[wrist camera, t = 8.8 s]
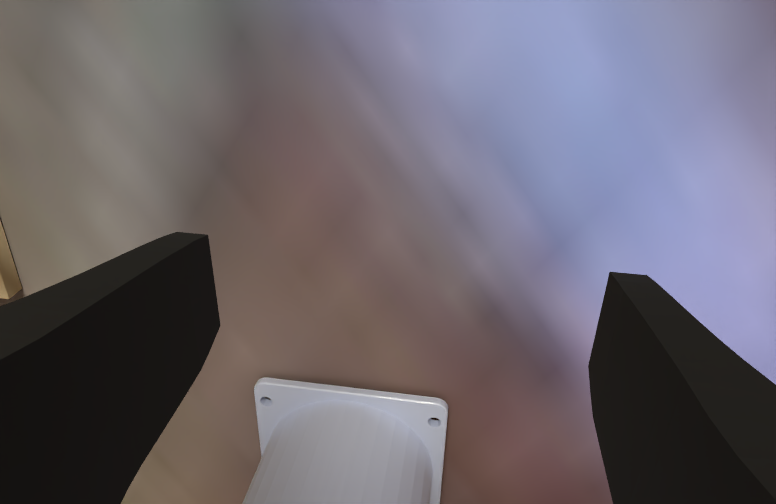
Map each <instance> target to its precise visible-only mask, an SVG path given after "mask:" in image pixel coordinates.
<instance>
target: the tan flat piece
mask: <svg viewBox="0 0 776 504" xmlns="http://www.w3.org/2000/svg"><path fill="white" fill-rule="evenodd" d="M21 289H22V287H21V283H20V280H19V277H18V274H17V271H16V268H15V264H14V261H13V258H12V255H11V252H10V249H9V246H8V242H7V239H6V236H5V233H4V230H3V227H2V224H1V220H0V298H3V299H10V298H11V297H12V296H14V295H15V294H16V293H17V292H18V291H20V290H21Z"/></svg>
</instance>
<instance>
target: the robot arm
mask: <svg viewBox="0 0 776 504" xmlns="http://www.w3.org/2000/svg"><path fill="white" fill-rule="evenodd" d="M219 327H220V319H219V312H218V305H217V297H216V290H215V283H214V275H213V268H212V261H211V254H210V246H209V239H208V235H204V234H193V233H182V232H175V233H172V234H169V235H166V236H163V237H161V238H158V239H156V240H154V241H151V242H149V243H147V244H144V245H142V246H140V247H138V248H135V249H133V250H131V251H129V252H127V253H124V254H122V255H120V256H118V257H116V258H114V259H111V260H109V261H107V262H105V263H103V264H100V265H98V266H96V267H94V268H92V269H90V270H87V271H85V272H83V273H81V274H79V275H76V276H74V277H72V278H69V279H67V280H64V281H62V282H60V283H57V284H55V285H53V286H50V287H48V288H45V289H43V290H41V291H38V292H36V293H34V294H31V295H29V296H26V297H24V298H22V299H19V300H16V301H14V302H11V303H8V304H6V305H3V306H0V504H121V502H122V500H123V498H124V496H125V494H126V491H127V490H128V488H129V486H130V484H131V482H132V481H133V479H134V477H135V475H136V474H137V472H138V470H139V468H140V467H141V465H142V463H143V462H144V460H145V459H146V457H147V455H148V454H149V452H150V451H151V449H152V448H153V446H154V444H155V443H156V441H157V440H158V438H159V437H160V435H161V433H162V432H163V430H164V429H165V427H166V425H167V424H168V422H169V421H170V419H171V418H172V416H173V414H174V413H175V411H176V410H177V408H178V406H179V405H180V403H181V402H182V400H183V398H184V397H185V395H186V394H187V392H188V390H189V389H190V387H191V385H192V384H193V382H194V381H195V379H196V377H197V376H198V374H199V372H200V371H201V369H202V367H203V364H204V362H205V360H206V358H207V356H208V354H209V351H210V349H211V347H212V344H213V342H214V339H215V337H216V335H217V332H218V330H219ZM588 367H589V379H590V392H591V402H592V412H593V419H594V423H595V428H596V432H597V436H598V441H599V445H600V450H601V454H602V458H603V462H604V467H605V471H606V475H607V479H608V483H609V488H610V492H611V496H612V500H613V504H776V385H775V384H774V383H773V382H771V381H770V380H769V379H768V378H766V377H765V376H764V375H762V374H761V373H760V372H759V371H757V370H756V369H755V368H753V367H752V366H751V365H750V364H748V363H747V362H746V361H744V360H743V359H742V358H741V357H740V356H738V355H737V354H736V353H735V352H734V351H732V350H731V349H730V348H729V347H728V346H726V345H725V344H724V343H723V342H722V341H721V340H719V339H718V338H717V337H716V336H715V335H714V334H713V333H711V332H710V331H709V330H708V329H707V328H706V327H705V326H703V325H702V324H701V323H700V322H699V321H698V320H697V319H696V318H695V317H693V316H692V315H691V314H690V313H689V312H688V311H687V310H686V309H685V308H684V307H683V306H681V305H680V304H679V303H678V302H677V301H676V300H675V299H674V298H673V297H672V296H670V295H669V294H668V293H667V292H666V291H665V290H664V289H663V288H662V287H661V286H659V285H658V284H657V283H656V282H655V281H654V280H652V279H651V278H650V277H648V276H647V275H638V274H627V273H616V272H610V273H609V277H608V282H607V286H606V291H605V295H604V299H603V304H602V308H601V313H600V317H599V321H598V326H597V330H596V335H595V339H594V343H593V348H592V352H591V357H590V361H589V365H588ZM254 395H255V404H256V413H257V422H258V431H259V439H260V448H261V457H262V458H261V460H260V463H259V465H258V468H257V470H256V472H255V475H254V477H253V479H252V482H251V484H250V487H249V489H248V491H247V494H246V496H245V498H244V501H243V503H242V504H440V495H441V484H442V472H443V461H444V450H445V439H446V428H447V417H448V405H447V403H446V402H445V401H444V400H442V399H439V398H435V397H426V396H418V395H410V394H401V393H393V392H385V391H376V390H368V389H359V388H351V387H343V386H334V385H326V384H317V383H309V382H301V381H292V380H284V379H276V378H261V379H259V380H258V381H257V383H256V385H255V387H254ZM265 397H268V398H270V399H271V400H269V399H266V398H265ZM431 418H438V419H439V420H432V419H431Z"/></svg>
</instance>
